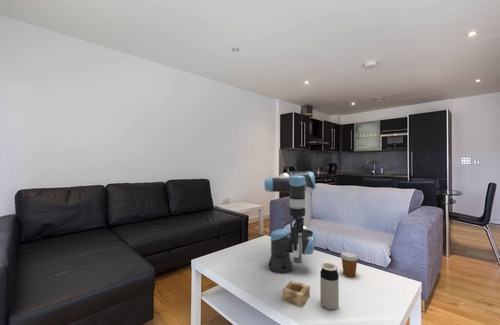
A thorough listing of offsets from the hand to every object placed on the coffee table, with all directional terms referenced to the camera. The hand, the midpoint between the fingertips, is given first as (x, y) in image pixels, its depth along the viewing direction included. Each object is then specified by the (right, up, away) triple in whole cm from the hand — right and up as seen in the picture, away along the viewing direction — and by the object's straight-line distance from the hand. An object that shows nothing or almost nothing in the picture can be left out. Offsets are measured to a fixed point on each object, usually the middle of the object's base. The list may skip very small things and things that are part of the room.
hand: (297, 255), depth 112 cm
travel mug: (+14, -21, -5) cm, 26 cm away
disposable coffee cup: (+35, -21, +22) cm, 46 cm away
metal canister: (0, -3, 0) cm, 3 cm away
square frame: (-1, -21, 0) cm, 21 cm away
